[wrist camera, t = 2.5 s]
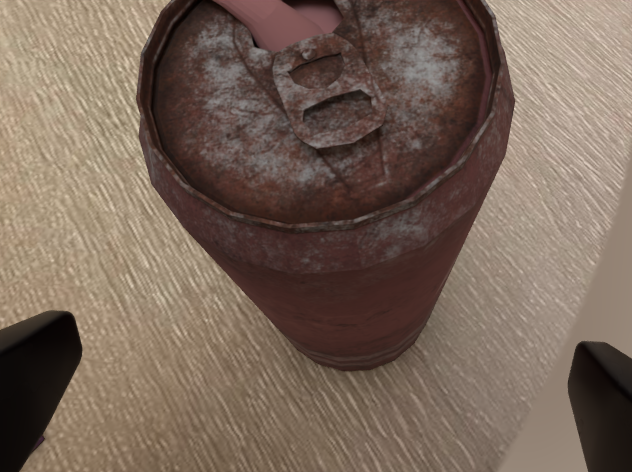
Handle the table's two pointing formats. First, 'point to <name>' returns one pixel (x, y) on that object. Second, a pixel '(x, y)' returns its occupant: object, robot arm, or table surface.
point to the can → (328, 154)
